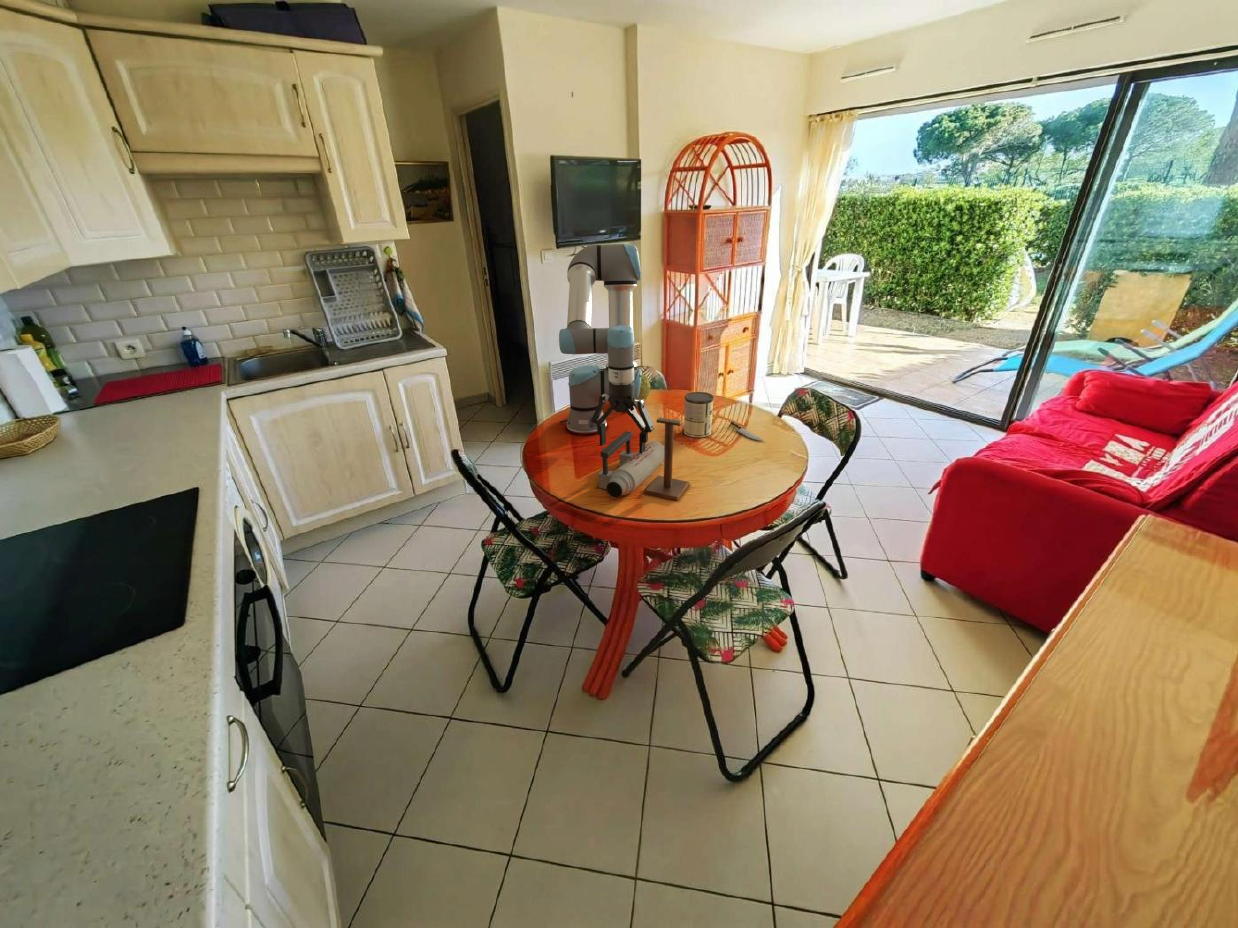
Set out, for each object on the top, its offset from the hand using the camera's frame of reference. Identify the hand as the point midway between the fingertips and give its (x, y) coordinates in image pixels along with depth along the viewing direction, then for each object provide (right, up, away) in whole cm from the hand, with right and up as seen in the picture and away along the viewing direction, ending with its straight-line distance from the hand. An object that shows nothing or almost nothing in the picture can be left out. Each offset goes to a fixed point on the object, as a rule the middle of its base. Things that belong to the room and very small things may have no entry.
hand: (622, 447), depth 158 cm
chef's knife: (+45, +6, +30) cm, 55 cm away
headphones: (-1, -9, +1) cm, 9 cm away
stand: (+13, -13, -6) cm, 19 cm away
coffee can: (+28, +7, +32) cm, 43 cm away
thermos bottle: (+11, -1, +8) cm, 13 cm away
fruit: (+5, +21, +63) cm, 66 cm away
